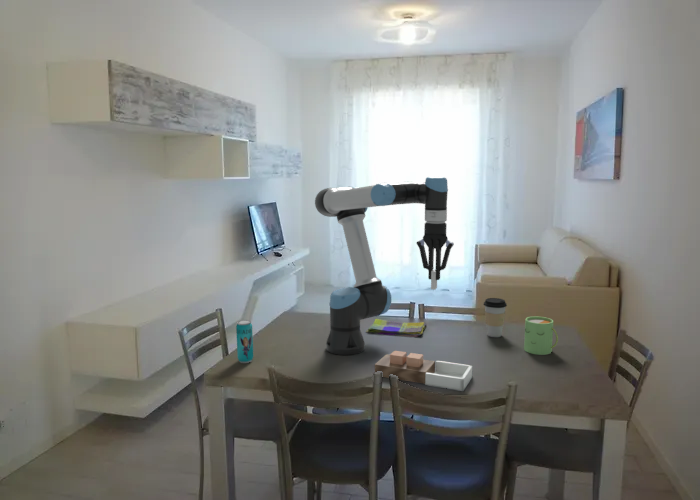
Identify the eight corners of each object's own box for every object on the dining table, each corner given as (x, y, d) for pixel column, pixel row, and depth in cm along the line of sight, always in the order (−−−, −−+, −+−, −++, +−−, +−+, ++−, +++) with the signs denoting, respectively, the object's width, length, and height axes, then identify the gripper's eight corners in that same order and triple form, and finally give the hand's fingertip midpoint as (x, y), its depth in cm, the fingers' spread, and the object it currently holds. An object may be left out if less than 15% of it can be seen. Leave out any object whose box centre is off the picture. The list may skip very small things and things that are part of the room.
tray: (425, 385, 181) (425, 373, 180) (436, 371, 192) (436, 360, 192) (463, 391, 175) (463, 379, 175) (472, 376, 187) (472, 365, 186)
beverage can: (240, 365, 200) (238, 325, 198) (235, 360, 205) (234, 321, 203) (255, 362, 203) (254, 322, 200) (250, 357, 208) (249, 318, 206)
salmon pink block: (389, 363, 190) (389, 354, 189) (394, 358, 194) (394, 350, 193) (402, 364, 188) (402, 356, 187) (406, 360, 192) (406, 352, 191)
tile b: (406, 365, 187) (406, 357, 187) (410, 361, 191) (410, 352, 191) (419, 367, 185) (419, 358, 185) (423, 363, 189) (423, 354, 189)
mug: (519, 350, 212) (520, 320, 210) (531, 344, 220) (532, 314, 218) (551, 358, 204) (552, 327, 202) (562, 351, 211) (564, 320, 209)
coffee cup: (506, 339, 226) (507, 303, 224) (482, 337, 228) (483, 302, 226) (504, 332, 235) (506, 297, 233) (482, 331, 237) (483, 297, 235)
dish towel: (375, 322, 253) (375, 316, 253) (428, 327, 246) (428, 320, 245) (365, 334, 236) (365, 327, 236) (421, 339, 229) (421, 332, 229)
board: (374, 375, 189) (374, 364, 188) (386, 364, 199) (386, 354, 198) (425, 383, 182) (425, 372, 181) (434, 372, 191) (435, 361, 191)
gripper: (414, 222, 190) (413, 289, 194) (451, 224, 185) (449, 292, 189) (420, 220, 197) (418, 284, 201) (456, 221, 192) (454, 287, 196)
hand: (433, 288), depth 195 cm, fingers closed
